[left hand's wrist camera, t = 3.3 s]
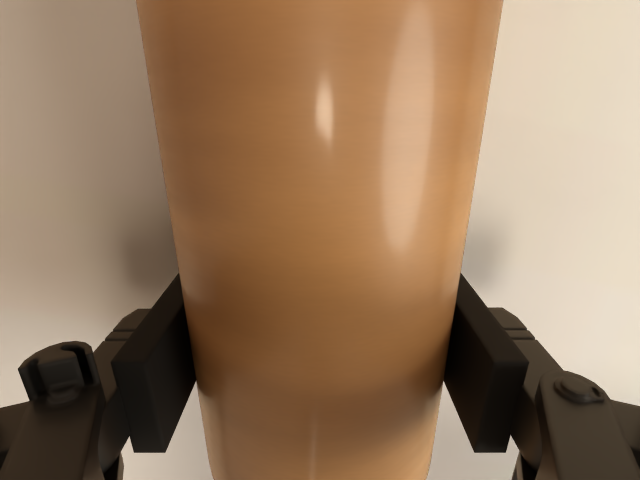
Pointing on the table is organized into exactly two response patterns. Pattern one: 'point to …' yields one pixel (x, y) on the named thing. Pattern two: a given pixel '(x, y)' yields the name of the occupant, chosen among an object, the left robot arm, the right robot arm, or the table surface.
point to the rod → (319, 219)
